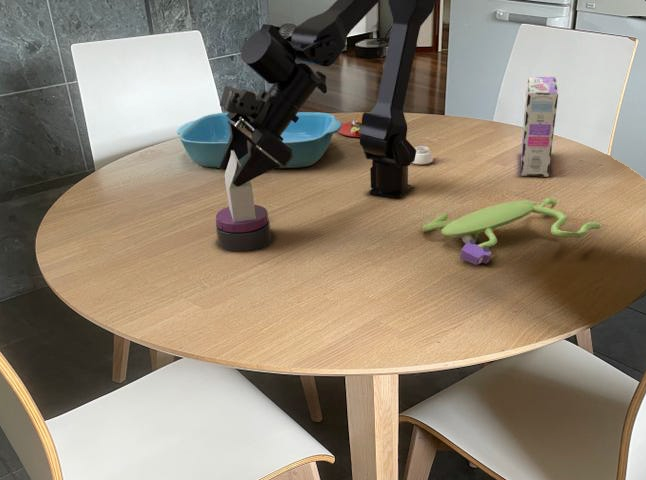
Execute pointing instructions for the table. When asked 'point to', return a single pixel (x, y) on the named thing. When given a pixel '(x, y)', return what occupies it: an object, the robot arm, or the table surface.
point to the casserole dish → (211, 141)
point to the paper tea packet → (238, 193)
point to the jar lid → (227, 223)
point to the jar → (244, 239)
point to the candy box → (538, 126)
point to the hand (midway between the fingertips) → (228, 176)
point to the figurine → (498, 225)
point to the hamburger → (352, 127)
